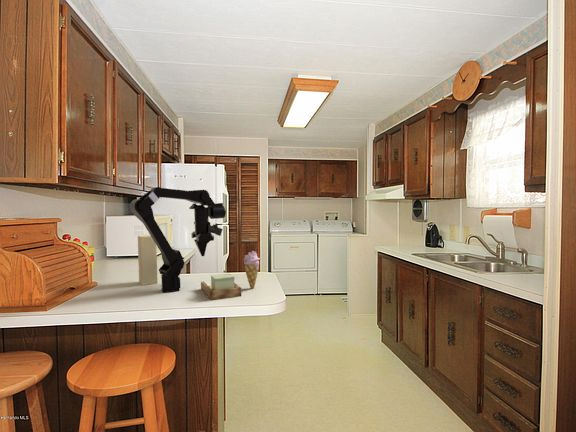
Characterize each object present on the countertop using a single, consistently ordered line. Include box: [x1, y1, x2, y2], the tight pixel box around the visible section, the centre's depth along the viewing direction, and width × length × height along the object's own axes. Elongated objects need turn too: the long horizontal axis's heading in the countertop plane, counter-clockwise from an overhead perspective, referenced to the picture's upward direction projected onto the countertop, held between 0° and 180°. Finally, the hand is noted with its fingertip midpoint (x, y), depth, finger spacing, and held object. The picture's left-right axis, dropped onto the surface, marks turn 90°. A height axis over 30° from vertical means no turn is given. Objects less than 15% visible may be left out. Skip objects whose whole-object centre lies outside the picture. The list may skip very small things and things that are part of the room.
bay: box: [200, 281, 243, 301], centre depth 135 cm, size 11×18×3 cm, turn 24°
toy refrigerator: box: [137, 234, 159, 286], centre depth 154 cm, size 8×7×21 cm
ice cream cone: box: [243, 250, 261, 290], centre depth 139 cm, size 7×6×15 cm
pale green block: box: [210, 273, 236, 291], centre depth 131 cm, size 7×7×6 cm
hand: (202, 256), depth 149 cm, fingers closed
